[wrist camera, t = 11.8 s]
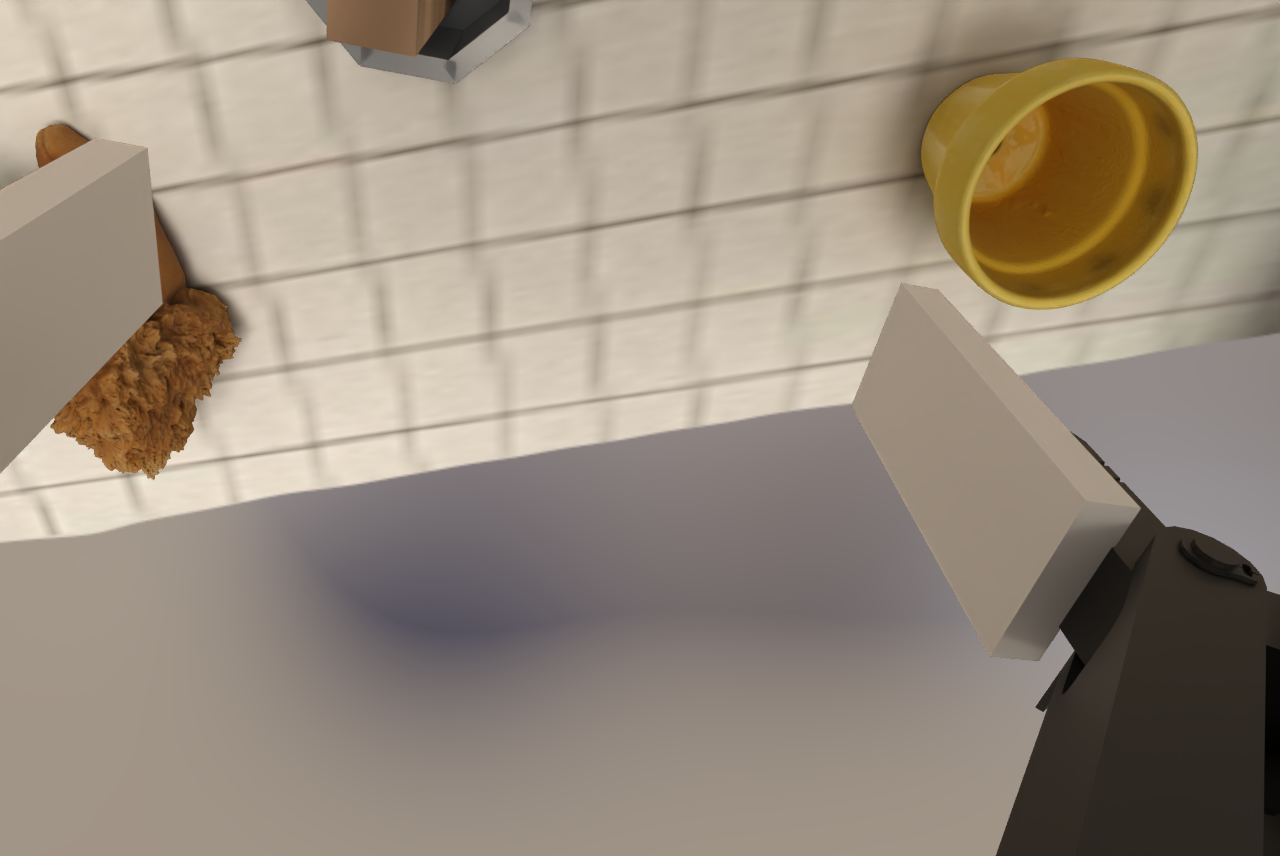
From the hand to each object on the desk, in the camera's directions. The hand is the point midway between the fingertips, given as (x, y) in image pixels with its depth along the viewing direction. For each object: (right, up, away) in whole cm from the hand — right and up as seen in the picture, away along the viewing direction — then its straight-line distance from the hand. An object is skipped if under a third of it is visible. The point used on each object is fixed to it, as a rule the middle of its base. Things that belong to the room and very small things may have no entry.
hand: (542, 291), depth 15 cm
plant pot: (+19, +13, +29) cm, 37 cm away
